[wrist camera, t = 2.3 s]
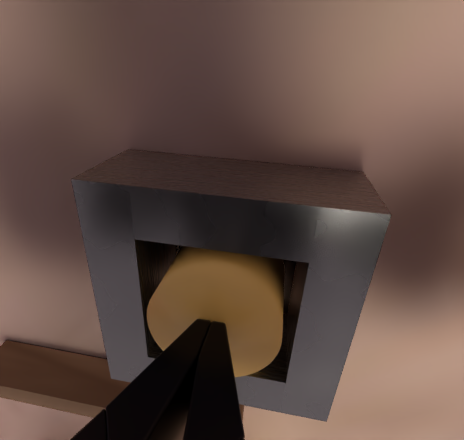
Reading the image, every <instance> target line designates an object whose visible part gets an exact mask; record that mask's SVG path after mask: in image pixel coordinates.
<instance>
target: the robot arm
mask: <svg viewBox="0 0 464 440" xmlns="http://www.w3.org/2000/svg"><path fill="white" fill-rule="evenodd" d="M244 438H245V435H244V429H243V424H242V418H241V412H240V406H239V400H238V394H237V388H236V382H235V376H234V370H233V364H232V358H231V352H230V346H229V341H228V335H227V329H226V324H225V323H223V322H217V321H212V322H211V321H210V320H205V319H196V320H195V321H194V322H193V323H192V324H191V325H190V326H189V327H188V328H187V329H186V330H185V331H184V332H183V333H182V334H181V335H180V336H179V337H178V338H176V339H175V340H174V341H173V342H172V343H171V344H170V345H169V346H168V347H167V348H166V349H165V350H164V351H163V352H162V353H161V354H160V355H159V356H158V357H157V358H156V359H155V360H154V361H153V362H152V363H151V364H149V365H148V366H147V367H146V368H145V369H144V370H143V371H142V372H141V373H140V374H139V375H138V376H137V377H136V378H135V379H134V380H133V381H132V382H131V383H130V384H129V385H128V386H127V387H126V388H125V389H123V390H122V391H121V392H120V393H119V394H118V395H117V396H116V397H115V398H114V399H113V400H112V401H111V402H110V403H109V404H108V405H107V406H106V408H105V409H102V410H101V411H100V412H99V413H98V414H97V415H96V416H95V417H94V418H93V419H92V420H91V421H90V422H89V423H88V424H87V425H86V426H85V427H84V428H82V429H81V430H80V431H79V432H78V433H77V434H76V435H75V436H74V437H73V438H72V439H70V440H245V439H244Z"/></svg>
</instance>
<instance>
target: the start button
mask: <svg viewBox="0 0 464 440" xmlns="http://www.w3.org/2000/svg"><path fill="white" fill-rule="evenodd" d="M284 279H285V268H284V263H283V259H276V258H269V257H261V256H254V255H247V254H239V253H232V252H225V251H217V250H210V249H202V248H195V247H188V246H182V247H181V249H180V251H179V252H178V254H177V256H176V257H175V259H174V261H173V262H172V264H171V266H170V267H169V269H168V271H167V272H166V274H165V276H164V277H163V279H162V281H161V282H160V284H159V286H158V287H157V289H156V291H155V292H154V294H153V296H152V297H151V299H150V301H149V304H148V308H147V322H148V327H149V330H150V333H151V335H152V336H153V338H154V340H155V341H156V343H157V344H158V346H159V347H160V348H161V349H162V350H163V351H164V350H165V349H166V348H167V347H168V346H169V345H170V344H171V343H172V342H173V341H174V340H175V339H176V338H178V337H179V336H180V335H181V334H182V333H183V332H184V331H185V330H186V329H187V328H188V327H189V326H190V325H191V324H192V323H193V322H194V321H195V320H196V319H205V320H210V321H211V322H212V321H217V322H223V323H225V324H226V329H227V335H228V341H229V346H230V352H231V358H232V364H233V370H234V376H235V377H241V376H246V375H250V374H253V373H255V372H258V371H260V370H261V369H263V368H265V367H266V366H267V365H269V364H270V363H271V362H272V361H273V360H274V359H275V357H276V356H277V354H278V352H279V350H280V347H281V344H282V333H283V306H284Z"/></svg>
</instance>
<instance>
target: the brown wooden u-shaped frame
mask: <svg viewBox="0 0 464 440" xmlns="http://www.w3.org/2000/svg"><path fill="white" fill-rule="evenodd" d="M129 384H130V382H125V381H120V380H115V379H111V376H110V371H109V366H108V361H107V359H103V358H97V357H92V356H87V355H82V354H76V353H71V352H66V351H61V350H56V349H50V348H45V347H40V346H35V345H29V344H24V343H19V342H14V341H9V340H6V341H5V342H4V343H3V344H2V345H1V346H0V397H1V398H6V399H10V400H15V401H20V402H24V403H29V404H33V405H38V406H42V407H47V408H52V409H56V410H61V411H65V412H70V413H74V414H79V415H83V416H88V417H93V418H94V417H95V416H96V415H97V414H98V413H99V412H100V411H101V410H102V409H105V408H106V406H107V405H108V404H109V403H110V402H111V401H112V400H113V399H114V398H115V397H116V396H117V395H118V394H119V393H120V392H121V391H122V390H123V389H125V388H126V387H127V386H128V385H129ZM239 406H240V412H241V418H242V421H243V411H244V405H241V404H239Z"/></svg>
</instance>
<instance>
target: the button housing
mask: <svg viewBox="0 0 464 440" xmlns="http://www.w3.org/2000/svg"><path fill="white" fill-rule="evenodd" d="M71 181H72V186H73V191H74V196H75V201H76V206H77V211H78V216H79V221H80V226H81V231H82V236H83V241H84V246H85V251H86V256H87V261H88V266H89V271H90V276H91V281H92V286H93V291H94V296H95V301H96V306H97V311H98V316H99V321H100V326H101V331H102V336H103V341H104V346H105V351H106V356H107V361H108V366H109V371H110V376H111V379H115V380H120V381H125V382H130V383H131V382H132V381H133V380H134V379H135V378H136V377H137V376H138V375H139V374H140V373H141V372H142V371H143V370H144V369H145V368H146V367H147V366H148V365H149V364H151V363H152V362H153V361H154V360H155V359H156V358H157V357H158V356H159V355H160V354H161V353H162V352H163V350H162V349H161V348H160V347H159V346H158V344H157V343H156V341H155V340H154V338H153V336H152V335H151V333H150V330H149V327H148V322H147V308H148V304H149V301H150V299H151V297H152V296H153V294H154V292H155V291H156V289H157V287H158V286H159V284H160V282H161V281H162V279H163V277H164V276H165V274H166V272H167V271H168V269H169V267H170V266H171V264H172V262H173V261H174V259H175V257H176V250H175V245H180V246H188V247H195V248H202V249H210V250H217V251H225V252H232V253H239V254H247V255H254V256H261V257H269V258H276V259H284V260H291V261H296V266H295V272H294V278H293V284H292V290H291V295H290V301H289V307H288V313H287V314H283V333H282V344H281V347H280V350H279V352H278V354H277V356H276V357H275V359H274V360H273V361H272V362H271V363H270V364H269V365H267V366H266V367H265V368H263V369H261V370H260V371H258V372H255V373H253V374H250V375H246V376H241V377H235V382H236V388H237V394H238V400H239V404H241V405H246V406H251V407H256V408H261V409H266V410H271V411H276V412H281V413H286V414H291V415H296V416H301V417H306V418H311V419H316V420H321V421H326V422H327V419H328V415H329V412H330V409H331V406H332V403H333V399H334V396H335V393H336V390H337V387H338V383H339V380H340V377H341V374H342V371H343V368H344V364H345V361H346V358H347V355H348V352H349V348H350V345H351V342H352V339H353V336H354V333H355V329H356V326H357V323H358V320H359V317H360V313H361V310H362V307H363V304H364V301H365V297H366V294H367V291H368V288H369V285H370V282H371V278H372V275H373V272H374V269H375V266H376V262H377V259H378V256H379V253H380V250H381V246H382V243H383V240H384V237H385V234H386V231H387V227H388V224H389V221H390V218H391V214H390V212H389V210H388V209H387V207H386V206H385V204H384V203H383V201H382V200H381V198H380V197H379V195H378V194H377V192H376V190H375V189H374V187H373V186H372V184H371V183H370V181H369V180H368V178H367V177H366V175H365V174H364V172H360V171H349V170H339V169H328V168H318V167H307V166H297V165H286V164H276V163H265V162H255V161H244V160H234V159H223V158H213V157H202V156H192V155H181V154H171V153H160V152H150V151H139V150H129V149H128V150H126V151H124V152H122V153H120V154H118V155H116V156H114V157H112V158H111V159H109V160H107V161H105V162H103V163H101V164H99V165H97V166H95V167H93V168H92V169H90V170H88V171H86V172H84V173H82V174H80V175H78V176H76V177H74V178H73V179H71Z"/></svg>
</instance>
